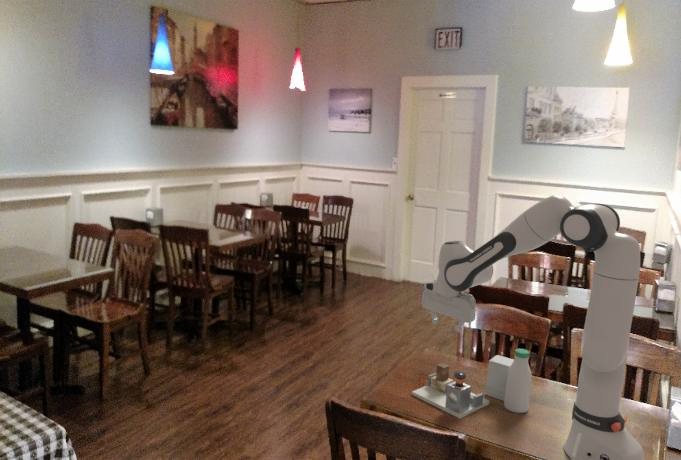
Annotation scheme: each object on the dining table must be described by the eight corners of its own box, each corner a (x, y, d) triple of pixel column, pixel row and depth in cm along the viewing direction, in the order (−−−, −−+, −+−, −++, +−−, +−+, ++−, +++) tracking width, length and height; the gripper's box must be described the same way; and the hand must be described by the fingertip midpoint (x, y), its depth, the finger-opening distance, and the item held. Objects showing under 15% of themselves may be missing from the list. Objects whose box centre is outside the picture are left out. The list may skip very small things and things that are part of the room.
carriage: (452, 388, 192) (454, 366, 191) (443, 392, 189) (445, 370, 188) (439, 382, 197) (440, 360, 195) (429, 386, 193) (431, 364, 192)
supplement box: (505, 401, 188) (509, 366, 186) (484, 394, 192) (488, 360, 190) (513, 394, 194) (517, 359, 192) (493, 387, 198) (496, 353, 196)
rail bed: (489, 404, 186) (490, 390, 185) (460, 418, 175) (461, 404, 174) (441, 382, 200) (442, 369, 200) (412, 394, 190) (413, 381, 189)
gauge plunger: (466, 397, 179) (468, 374, 177) (459, 400, 176) (461, 377, 175) (456, 393, 181) (459, 370, 180) (450, 396, 179) (452, 373, 178)
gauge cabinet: (468, 412, 180) (471, 386, 178) (458, 417, 176) (460, 391, 174) (455, 405, 184) (457, 380, 182) (444, 410, 180) (446, 384, 178)
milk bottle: (529, 415, 179) (536, 356, 176) (504, 411, 181) (511, 353, 177) (526, 404, 187) (533, 347, 183) (503, 400, 188) (508, 345, 185)
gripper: (481, 294, 181) (477, 334, 183) (432, 279, 196) (429, 317, 198) (469, 297, 177) (466, 338, 179) (420, 282, 192) (417, 320, 194)
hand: (446, 327), depth 189 cm, fingers open, 8 cm apart
